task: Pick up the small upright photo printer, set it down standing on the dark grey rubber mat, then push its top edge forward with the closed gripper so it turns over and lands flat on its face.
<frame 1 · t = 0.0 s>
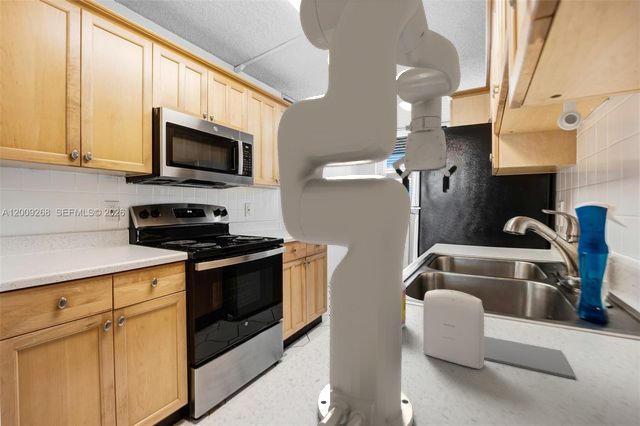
hand: (425, 192, 79), 31 cm above the countertop, tool pointing down, fingers open, 9 cm apart
supplement bottle: (390, 325, 70), on the countertop
mat: (523, 355, 56), on the countertop
photo printer: (451, 359, 55), on the countertop
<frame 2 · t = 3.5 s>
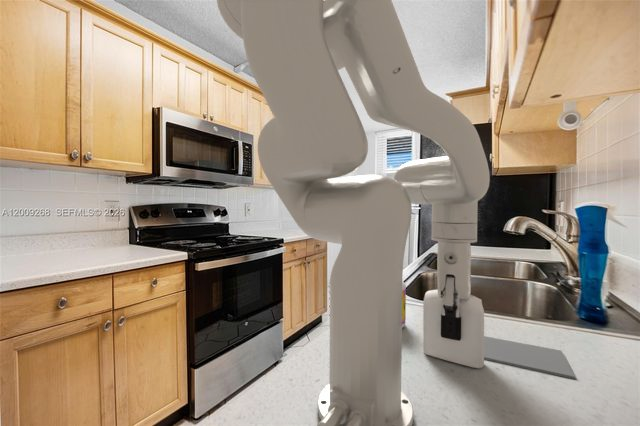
hand: (452, 331, 54), 5 cm above the countertop, tool pointing down, fingers closed on photo printer, 4 cm apart
photo printer: (451, 359, 55), on the countertop, touching gripper
everything else where it was.
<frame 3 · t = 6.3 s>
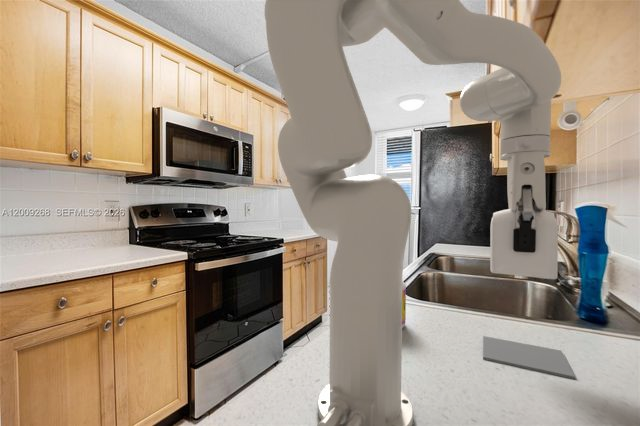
hand: (522, 248, 55), 20 cm above the countertop, tool pointing down, fingers closed on photo printer, 4 cm apart
photo printer: (521, 276, 55), point 15 cm above the countertop, touching gripper
everything else where it was.
when the fingers open (6 cm above the countertop, at t = 9.0 s): photo printer stays where it is, resting on mat.
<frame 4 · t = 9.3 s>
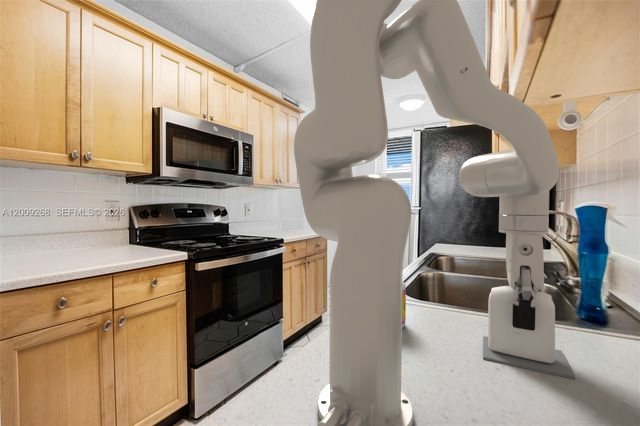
hand: (520, 320, 55), 7 cm above the countertop, tool pointing down, fingers open, 7 cm apart
photo printer: (519, 355, 55), resting on mat
everything else where it was.
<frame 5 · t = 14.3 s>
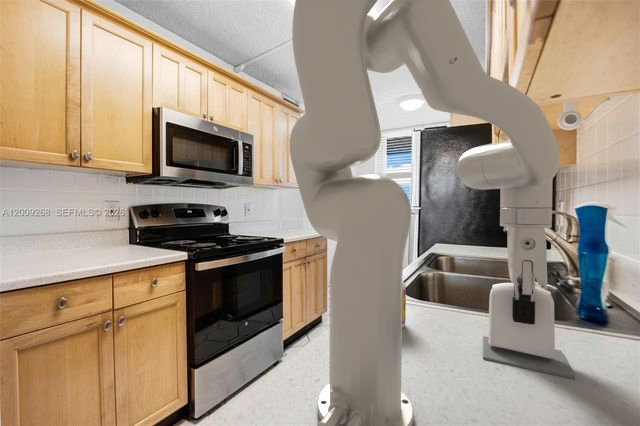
hand: (523, 321, 53), 7 cm above the countertop, tool pointing down, fingers closed
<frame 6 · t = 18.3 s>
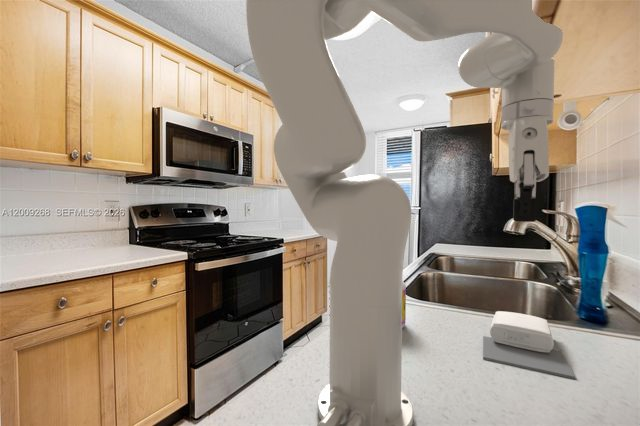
hand: (524, 221, 53), 25 cm above the countertop, tool pointing down, fingers closed
photo printer: (519, 338, 57), point 3 cm above the countertop, touching mat
everything else where it was.
at the end: photo printer tilted 93°; photo printer 1.4 cm from the mat (horizontally); the gripper is holding nothing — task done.
